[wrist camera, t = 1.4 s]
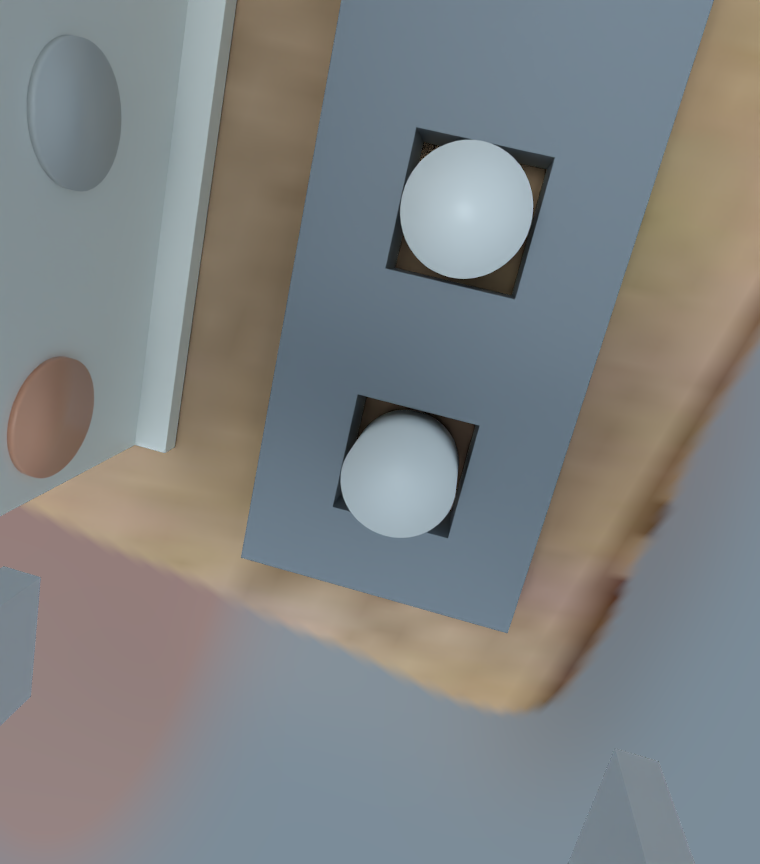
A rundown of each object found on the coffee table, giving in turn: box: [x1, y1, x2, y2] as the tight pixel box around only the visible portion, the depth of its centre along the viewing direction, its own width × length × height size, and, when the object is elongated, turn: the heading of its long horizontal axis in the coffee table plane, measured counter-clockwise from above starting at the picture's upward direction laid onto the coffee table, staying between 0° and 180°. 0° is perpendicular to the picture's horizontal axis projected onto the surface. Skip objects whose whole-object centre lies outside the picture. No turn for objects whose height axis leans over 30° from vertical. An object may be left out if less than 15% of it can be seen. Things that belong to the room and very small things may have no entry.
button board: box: [241, 0, 714, 633], centre depth 25 cm, size 32×12×3 cm, turn 167°
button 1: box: [341, 410, 459, 538], centre depth 26 cm, size 4×4×3 cm
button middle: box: [400, 140, 533, 279], centre depth 23 cm, size 4×4×3 cm
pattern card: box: [0, 0, 237, 516], centre depth 21 cm, size 26×4×13 cm, turn 167°
